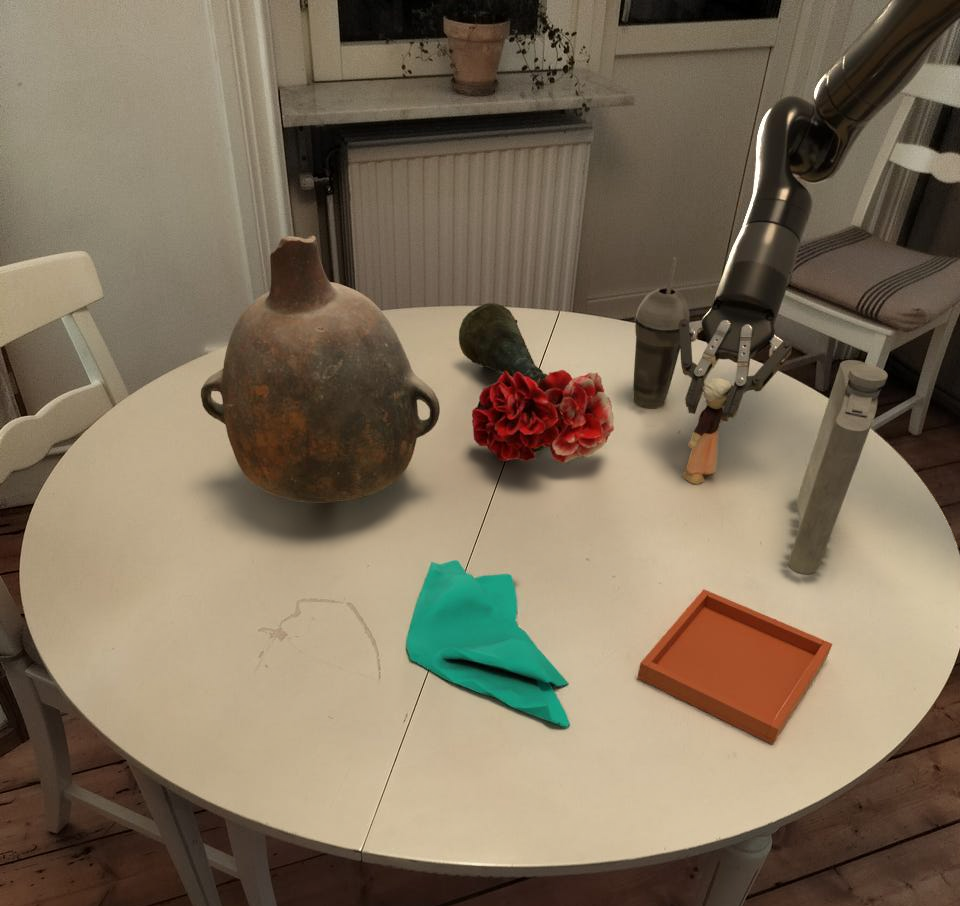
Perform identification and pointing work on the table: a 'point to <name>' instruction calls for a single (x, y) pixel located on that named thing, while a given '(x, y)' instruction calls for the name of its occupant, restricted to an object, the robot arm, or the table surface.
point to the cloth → (482, 641)
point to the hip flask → (834, 459)
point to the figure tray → (735, 664)
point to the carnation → (530, 395)
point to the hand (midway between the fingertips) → (708, 414)
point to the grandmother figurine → (707, 432)
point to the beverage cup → (657, 343)
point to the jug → (317, 387)
